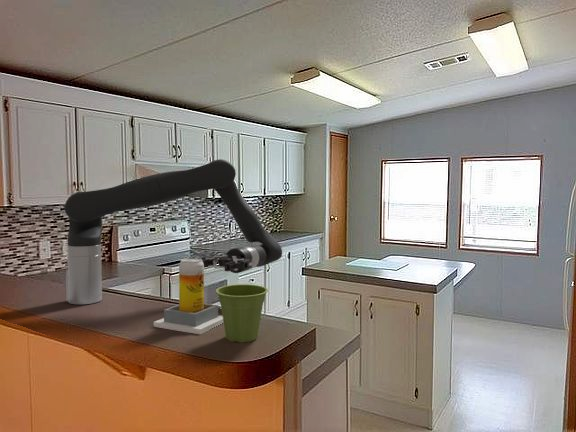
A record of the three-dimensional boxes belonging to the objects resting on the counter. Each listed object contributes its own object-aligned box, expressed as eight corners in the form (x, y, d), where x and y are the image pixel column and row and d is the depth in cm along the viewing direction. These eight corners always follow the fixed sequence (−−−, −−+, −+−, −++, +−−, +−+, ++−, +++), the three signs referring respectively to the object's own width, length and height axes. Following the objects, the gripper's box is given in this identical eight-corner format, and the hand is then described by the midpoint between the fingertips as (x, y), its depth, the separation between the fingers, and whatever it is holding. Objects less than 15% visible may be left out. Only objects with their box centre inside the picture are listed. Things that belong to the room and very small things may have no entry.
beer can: (198, 323, 108) (198, 262, 107) (175, 321, 109) (174, 261, 108) (207, 316, 114) (207, 259, 113) (185, 315, 115) (185, 258, 114)
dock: (153, 326, 109) (153, 309, 109) (184, 314, 120) (183, 299, 120) (200, 334, 103) (200, 316, 103) (227, 321, 114) (227, 305, 114)
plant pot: (204, 340, 99) (204, 290, 99) (239, 327, 109) (239, 282, 109) (244, 350, 93) (245, 298, 92) (277, 336, 102) (278, 288, 102)
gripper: (223, 245, 139) (191, 250, 124) (263, 248, 133) (235, 254, 118) (222, 269, 139) (191, 277, 124) (262, 273, 133) (234, 282, 118)
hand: (212, 266), depth 121 cm, fingers open, 8 cm apart
